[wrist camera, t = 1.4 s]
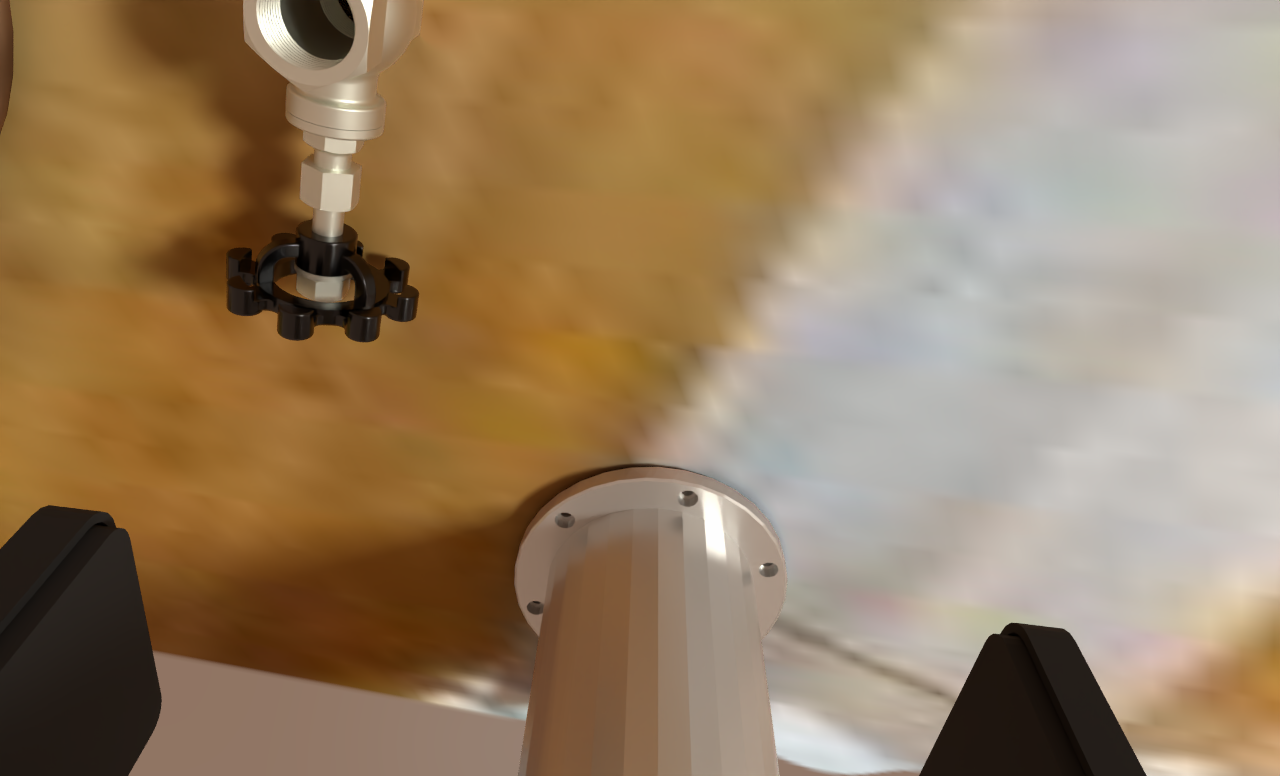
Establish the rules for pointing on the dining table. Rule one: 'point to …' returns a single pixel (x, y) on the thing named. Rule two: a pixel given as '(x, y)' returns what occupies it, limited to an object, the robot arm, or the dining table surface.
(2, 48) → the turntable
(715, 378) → the dining table surface
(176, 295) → the dining table surface
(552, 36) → the dining table surface
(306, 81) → the valve
